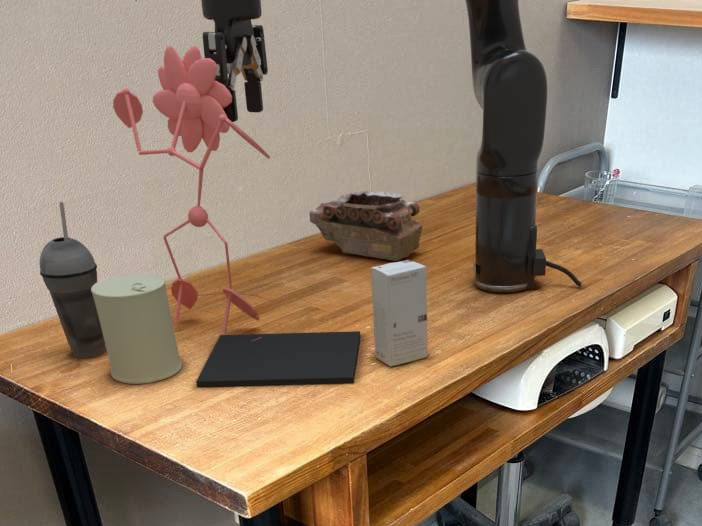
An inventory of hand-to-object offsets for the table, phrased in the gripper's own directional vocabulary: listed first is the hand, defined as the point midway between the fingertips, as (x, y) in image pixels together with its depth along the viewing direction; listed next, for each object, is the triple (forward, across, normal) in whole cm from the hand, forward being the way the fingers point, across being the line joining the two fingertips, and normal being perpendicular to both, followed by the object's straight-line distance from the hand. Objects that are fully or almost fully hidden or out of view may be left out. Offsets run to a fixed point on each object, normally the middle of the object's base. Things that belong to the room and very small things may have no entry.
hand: (243, 116), depth 117 cm
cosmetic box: (+26, -15, -26) cm, 40 cm away
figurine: (+26, -6, +3) cm, 27 cm away
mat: (+27, -19, -11) cm, 34 cm away
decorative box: (+27, +30, -7) cm, 41 cm away
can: (+27, -25, +6) cm, 38 cm away
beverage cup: (+28, -21, +17) cm, 39 cm away
